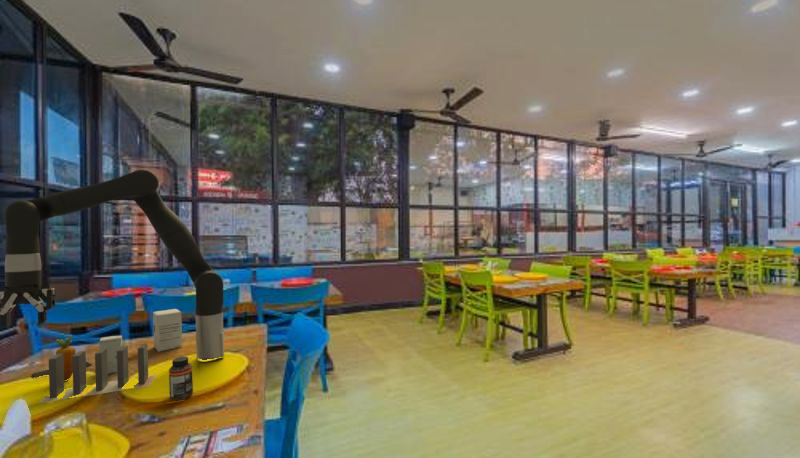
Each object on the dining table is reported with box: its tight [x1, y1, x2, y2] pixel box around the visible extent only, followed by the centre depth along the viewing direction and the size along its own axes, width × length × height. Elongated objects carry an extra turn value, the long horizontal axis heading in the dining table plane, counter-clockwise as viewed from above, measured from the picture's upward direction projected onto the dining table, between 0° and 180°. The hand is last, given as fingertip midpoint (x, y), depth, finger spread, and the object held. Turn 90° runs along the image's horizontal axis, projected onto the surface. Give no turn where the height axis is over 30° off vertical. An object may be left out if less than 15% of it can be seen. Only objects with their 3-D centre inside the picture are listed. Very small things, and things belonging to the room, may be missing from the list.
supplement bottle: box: [168, 355, 194, 401], centre depth 110 cm, size 6×6×11 cm
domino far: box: [48, 353, 65, 398], centre depth 112 cm, size 2×5×12 cm, turn 23°
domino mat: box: [38, 374, 157, 404], centre depth 117 cm, size 27×10×1 cm, turn 112°
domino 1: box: [72, 350, 87, 395], centre depth 114 cm, size 2×5×12 cm, turn 22°
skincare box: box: [99, 335, 123, 375], centre depth 131 cm, size 6×4×12 cm
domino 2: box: [94, 348, 109, 391], centre depth 117 cm, size 2×5×12 cm, turn 22°
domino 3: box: [116, 345, 130, 388], centre depth 119 cm, size 2×5×12 cm, turn 22°
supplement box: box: [152, 308, 183, 353], centre depth 158 cm, size 9×9×15 cm
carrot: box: [55, 334, 76, 380], centre depth 123 cm, size 5×5×15 cm
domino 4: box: [137, 343, 149, 385], centre depth 121 cm, size 2×5×12 cm, turn 22°
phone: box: [31, 361, 92, 378], centre depth 133 cm, size 7×1×15 cm
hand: (24, 325), depth 110 cm, fingers open, 7 cm apart
